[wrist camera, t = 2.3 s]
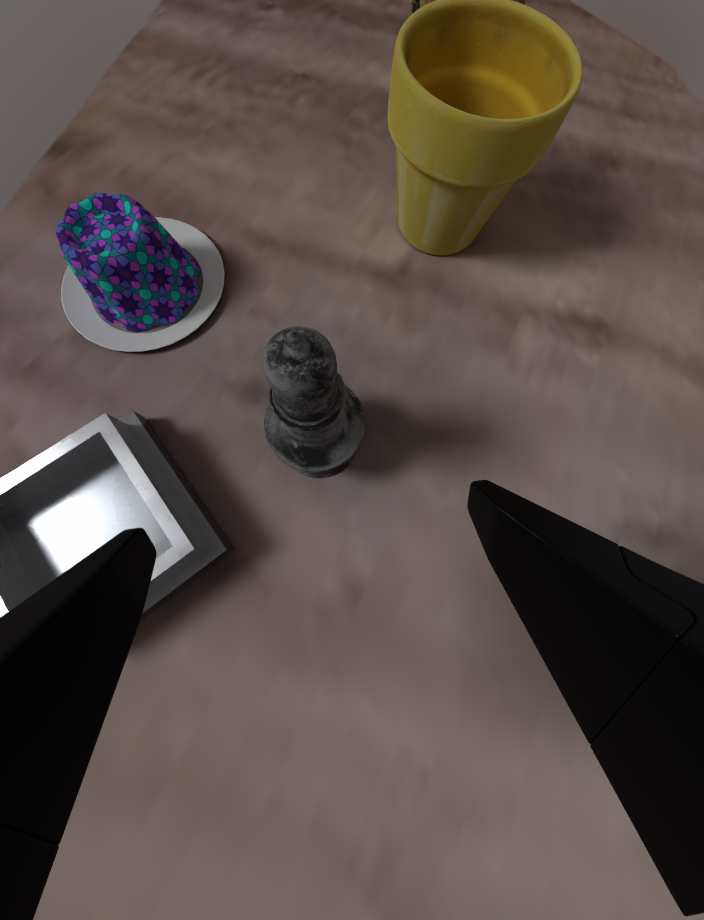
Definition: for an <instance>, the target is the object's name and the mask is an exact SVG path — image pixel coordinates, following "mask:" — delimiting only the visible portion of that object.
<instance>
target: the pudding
mask: <svg viewBox="0 0 704 920" xmlns="http://www.w3.org/2000/svg"><path fill="white" fill-rule="evenodd" d="M56 236H57V240H58V243H59V246H60V247H61V251H62V254H63V257H64V259H65V260H66V262H67V264H68V267H67V269H66V272H65V274H64V277H63V282H62V287H61V295H62V304H63V308H64V311H65V313H66V315H67V317H68V319H69V321H70V323H71V324H72V325H73V326H74V328H75V329H76V330H77V331H78V332H79V333H80V334H81V335H83V336H84V337H85V338H86V339H88V340H90V341H92V342H94V343H95V344H97V345H99V346H102V347H106V348H109V349H112V350H119V351H126V352H135V351H147V350H153V349H158V348H161V347H164V346H167V345H170V344H173V343H175V342H177V341H179V340H181V339H183V338H185V337H186V336H188V335H189V334H190V333H192V332H193V331H195V330H196V329H197V328H198V327H199V326H201V325H202V324H203V323H204V322H205V321H206V320H207V319H208V317H209V316H210V315H211V313H212V312H213V310H214V309H215V307H216V305H217V303H218V301H219V299H220V297H221V294H222V290H223V287H224V275H225V273H224V266H223V261H222V259H221V256H220V253H219V251H218V250H217V248H216V247H215V245H214V244H213V242H212V241H211V240H210V239H209V238H208V237H207V236H206V235H205V234H203V233H202V232H201V231H199V230H198V229H196V228H195V227H193V226H191V225H188V224H186V223H184V222H181V221H177V220H174V219H168V218H160V217H154V216H153V215H152V214H151V213H150V212H149V211H147V210H146V209H144V208H143V206H142V205H141V204H140V203H138V202H137V201H135V200H134V199H132V198H131V197H129V196H127V195H121V194H115V195H111V196H110V195H107V194H105V193H95V194H93V195H90V196H88V197H87V198H86V199H85V200H84V201H83V202H75V203H74V204H72V205H71V206H69V207H68V209H67V210H66V211H65V219H63V220H62V221H61V222H59V224H58V227H57V229H56ZM182 247H183V248H184V249H186V250H187V251H188V252H190V253H191V254H192V255H193V256H194V257H195V258H196V260H197V262H198V263H199V265H200V267H201V270H202V274H203V289H202V292H201V296H200V298H199V300H198V302H197V304H196V305H195V307H194V308H193V309H192V311H191V312H190V313H189V314H188V315H187V316H186V317H185V318H183V319H182V320H181V321H179V322H178V323H176V322H177V321H178V320H179V319H180V318H181V317H182V316H183V312H184V308H185V307H187V306H190V305H192V304H194V303H195V302H196V300H197V299H198V297H199V294H200V287H199V286H198V284H197V283H196V279H197V277H198V276H199V274H200V270H199V266H198V264H197V263H196V262H195V261H194V260H193V259H192V257H191V256H190V255H189V254H188V253H187V252H186V251H185V250H184V249H183V248H182ZM91 300H92V302H93V304H94V305H95V307H96V308H97V310H98V311H99V313H100V314H101V316H102V317H103V319H105V320H106V321H108V322H110V323H122V324H123V325H124V326H125V327H126V329H127V330H129V331H133V332H143V331H147V330H149V329H150V328H151V327H153V326H154V325H160V326H168V325H171V324H174V323H176V324H174V325H172V326H170V327H168V328H166V329H163V330H160V331H157V332H152V333H141V334H135V333H128V332H124V331H120V330H117V329H115V328H113V327H111V326H109V325H108V324H107V323H105V322H104V321H103V320H102V319H101V318H100V317H99V316H98V315H97V313H96V311H95V310H94V308H93V305H92V302H91Z"/></svg>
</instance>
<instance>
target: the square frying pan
mask: <svg viewBox="0 0 704 920" xmlns="http://www.w3.org/2000/svg"><path fill="white" fill-rule="evenodd" d="M132 528H143V529H144V530H145V531H146V533H147V534H148V536H149V538H150V540H151V541H152V543H153V545H154V546H155V548H156V553H157V556H156V561H155V565H154V570H153V574H152V578H151V582H150V586H149V590H148V594H147V598H146V603H145V606H144V610H143V613H142V616H141V619H140V620H142V619H143V618H144V617H146V616H147V615H148V614H150V613H151V612H152V611H154V610H155V609H156V608H158V607H159V606H160V605H161V604H163V603H164V602H165V601H167V600H168V599H169V598H171V597H172V596H173V595H175V594H176V593H177V592H179V591H180V590H181V589H183V588H184V587H185V586H187V585H188V584H189V583H191V582H192V581H193V580H195V579H196V578H197V577H199V576H200V575H201V574H202V573H204V572H205V571H206V570H208V569H209V568H210V567H212V566H213V565H214V564H216V563H217V562H218V561H220V560H221V559H222V558H224V557H225V556H226V555H228V554H229V553H230V552H232V551H233V550H234V549H235V548H234V547H233V545H232V544H231V542H230V541H229V539H228V538H227V536H226V535H225V534H224V532H223V531H222V529H221V528H220V526H219V525H218V523H217V522H216V520H215V519H214V517H213V516H212V514H211V513H210V511H209V510H208V509H207V507H206V506H205V504H204V503H203V501H202V500H201V498H200V497H199V495H198V494H197V492H196V491H195V489H194V488H193V486H192V485H191V484H190V482H189V481H188V479H187V478H186V476H185V475H184V473H183V472H182V470H181V469H180V467H179V466H178V464H177V463H176V461H175V460H174V459H173V457H172V456H171V454H170V453H169V451H168V450H167V448H166V447H165V445H164V444H163V442H162V441H161V439H160V438H159V436H158V435H157V434H156V432H155V431H154V429H153V428H152V426H151V425H150V423H149V422H148V420H147V419H146V418H145V417H143V416H141V415H140V414H138V413H136V412H135V411H133V410H132V411H130V412H129V413H127V414H126V415H124V416H123V417H121V418H119V419H116V418H114V417H112V416H110V415H109V414H107V413H104V414H103V415H101V416H100V417H98V418H97V419H95V420H93V421H92V422H90V423H89V424H87V425H85V426H84V427H82V428H81V429H79V430H77V431H76V432H74V433H73V434H71V435H69V436H68V437H66V438H65V439H63V440H61V441H60V442H58V443H57V444H55V445H54V446H52V447H50V448H49V449H47V450H46V451H44V452H42V453H41V454H39V455H38V456H36V457H34V458H33V459H31V460H30V461H28V462H26V463H25V464H23V465H22V466H20V467H18V468H17V469H15V470H14V471H12V472H10V473H9V474H7V475H6V476H4V477H3V478H1V479H0V617H2V616H3V615H4V614H6V613H7V612H9V611H10V610H11V609H13V608H14V607H16V606H17V605H19V604H20V603H21V602H23V601H24V600H26V599H27V598H28V597H30V596H31V595H33V594H34V593H36V592H37V591H38V590H40V589H41V588H43V587H44V586H45V585H47V584H48V583H50V582H51V581H53V580H54V579H55V578H57V577H58V576H60V575H61V574H62V573H64V572H65V571H67V570H68V569H70V568H71V567H72V566H74V565H75V564H77V563H78V562H79V561H81V560H82V559H84V558H85V557H87V556H88V555H89V554H91V553H92V552H94V551H95V550H96V549H98V548H99V547H101V546H102V545H104V544H105V543H106V542H108V541H109V540H111V539H112V538H113V537H115V536H116V535H118V534H119V533H121V532H122V531H124V530H126V529H132Z"/></svg>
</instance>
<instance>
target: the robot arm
mask: <svg viewBox="0 0 704 920" xmlns="http://www.w3.org/2000/svg"><path fill="white" fill-rule="evenodd" d="M468 511H469V514H470V516H471V519H472V521H473V524H474V526H475V529H476V531H477V534H478V536H479V538H480V541H481V543H482V546H483V548H484V551H485V553H486V555H487V558H488V560H489V562H490V564H491V565H492V567H493V569H494V571H495V573H496V575H497V576H498V578H499V580H500V582H501V584H502V586H503V587H504V589H505V591H506V593H507V595H508V597H509V598H510V600H511V602H512V604H513V606H514V607H515V609H516V611H517V613H518V615H519V617H520V618H521V620H522V622H523V624H524V626H525V628H526V629H527V631H528V633H529V635H530V637H531V639H532V640H533V642H534V644H535V646H536V648H537V649H538V651H539V653H540V655H541V657H542V659H543V660H544V662H545V664H546V666H547V668H548V670H549V671H550V673H551V675H552V677H553V679H554V680H555V682H556V684H557V686H558V688H559V690H560V691H561V693H562V695H563V697H564V699H565V701H566V702H567V704H568V706H569V708H570V710H571V712H572V713H573V715H574V717H575V719H576V721H577V722H578V724H579V726H580V728H581V730H582V732H583V733H584V735H585V737H586V739H587V741H588V742H589V743H590V744H591V745H590V747H591V749H592V750H593V752H594V754H595V756H596V758H597V759H598V761H599V763H600V765H601V767H602V769H603V770H604V772H605V774H606V776H607V778H608V780H609V781H610V783H611V785H612V787H613V789H614V791H615V792H616V794H617V796H618V798H619V800H620V801H621V803H622V805H623V807H624V809H625V811H626V812H627V814H628V816H629V818H630V820H631V822H632V823H633V825H634V827H635V829H636V831H637V832H638V834H639V836H640V838H641V840H642V842H643V843H644V845H645V847H646V849H647V851H648V853H649V854H650V856H651V858H652V860H653V862H654V864H655V865H656V867H657V869H658V871H659V873H660V874H661V876H662V878H663V880H664V882H665V884H666V885H667V887H668V889H669V891H670V893H671V895H672V896H673V898H674V900H675V901H676V903H677V905H678V906H679V908H680V910H681V911H682V913H683V915H684V916H691V915H696V914H701V913H704V584H702V583H700V582H698V581H695V580H693V579H691V578H688V577H686V576H684V575H682V574H679V573H677V572H675V571H673V570H670V569H668V568H666V567H664V566H662V565H660V564H658V563H655V562H653V561H651V560H649V559H647V558H645V557H643V556H641V555H639V554H637V553H635V552H633V551H631V550H629V549H627V548H625V547H622V546H618V544H616V543H614V542H612V541H610V540H608V539H606V538H604V537H602V536H600V535H598V534H596V533H594V532H592V531H590V530H588V529H586V528H584V527H582V526H580V525H578V524H576V523H574V522H572V521H569V520H567V519H565V518H563V517H561V516H559V515H557V514H555V513H553V512H551V511H549V510H547V509H545V508H543V507H541V506H539V505H537V504H535V503H533V502H531V501H529V500H527V499H525V498H523V497H521V496H519V495H517V494H515V493H513V492H511V491H509V490H507V489H504V488H502V487H500V486H498V485H496V484H494V483H492V482H490V481H488V480H479V481H473V482H472V483H471V485H470V490H469V497H468ZM156 556H157V553H156V548H155V546H154V545H153V543H152V541H151V540H150V538H149V536H148V534H147V533H146V531H145V530H144V529H143V528H132V529H126V530H124V531H122V532H121V533H119V534H118V535H116V536H115V537H113V538H112V539H111V540H109V541H108V542H106V543H105V544H104V545H102V546H101V547H99V548H98V549H96V550H95V551H94V552H92V553H91V554H89V555H88V556H87V557H85V558H84V559H82V560H81V561H79V562H78V563H77V564H75V565H74V566H72V567H71V568H70V569H68V570H67V571H65V572H64V573H62V574H61V575H60V576H58V577H57V578H55V579H54V580H53V581H51V582H50V583H48V584H47V585H45V586H44V587H43V588H41V589H40V590H38V591H37V592H36V593H34V594H33V595H31V596H30V597H28V598H27V599H26V600H24V601H23V602H21V603H20V604H19V605H17V606H16V607H14V608H13V609H11V610H10V611H9V612H7V613H6V614H4V615H3V616H2V617H0V920H33V918H34V915H35V912H36V910H37V907H38V904H39V901H40V898H41V896H42V893H43V890H44V887H45V885H46V882H47V879H48V876H49V873H50V871H51V868H52V865H53V862H54V859H55V857H56V854H57V851H58V848H59V846H58V844H59V843H60V842H61V839H62V836H63V834H64V831H65V828H66V825H67V822H68V820H69V817H70V814H71V811H72V809H73V806H74V803H75V800H76V797H77V795H78V792H79V789H80V786H81V783H82V781H83V778H84V775H85V772H86V770H87V767H88V764H89V761H90V758H91V756H92V753H93V750H94V747H95V744H96V742H97V739H98V736H99V733H100V731H101V728H102V725H103V722H104V719H105V717H106V714H107V711H108V708H109V706H110V703H111V700H112V697H113V694H114V692H115V689H116V686H117V683H118V680H119V678H120V675H121V672H122V669H123V667H124V664H125V661H126V658H127V655H128V653H129V650H130V647H131V644H132V641H133V639H134V636H135V633H136V630H137V628H138V625H139V622H140V619H141V616H142V613H143V610H144V606H145V603H146V598H147V594H148V590H149V586H150V582H151V578H152V574H153V570H154V565H155V561H156Z"/></svg>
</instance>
